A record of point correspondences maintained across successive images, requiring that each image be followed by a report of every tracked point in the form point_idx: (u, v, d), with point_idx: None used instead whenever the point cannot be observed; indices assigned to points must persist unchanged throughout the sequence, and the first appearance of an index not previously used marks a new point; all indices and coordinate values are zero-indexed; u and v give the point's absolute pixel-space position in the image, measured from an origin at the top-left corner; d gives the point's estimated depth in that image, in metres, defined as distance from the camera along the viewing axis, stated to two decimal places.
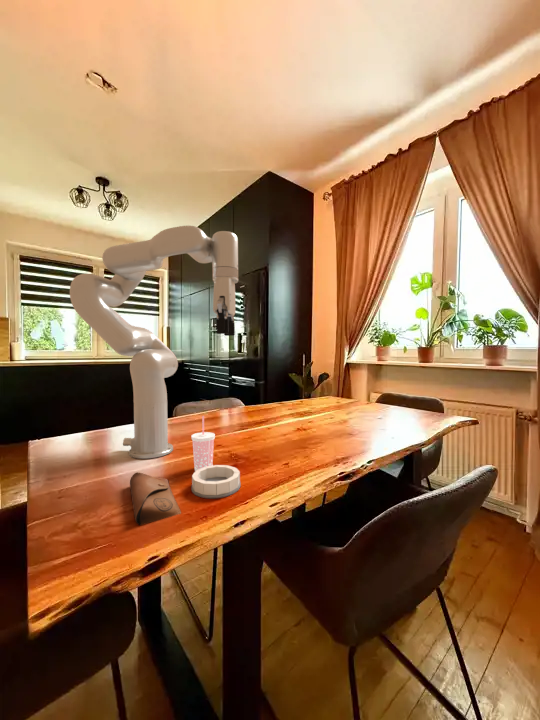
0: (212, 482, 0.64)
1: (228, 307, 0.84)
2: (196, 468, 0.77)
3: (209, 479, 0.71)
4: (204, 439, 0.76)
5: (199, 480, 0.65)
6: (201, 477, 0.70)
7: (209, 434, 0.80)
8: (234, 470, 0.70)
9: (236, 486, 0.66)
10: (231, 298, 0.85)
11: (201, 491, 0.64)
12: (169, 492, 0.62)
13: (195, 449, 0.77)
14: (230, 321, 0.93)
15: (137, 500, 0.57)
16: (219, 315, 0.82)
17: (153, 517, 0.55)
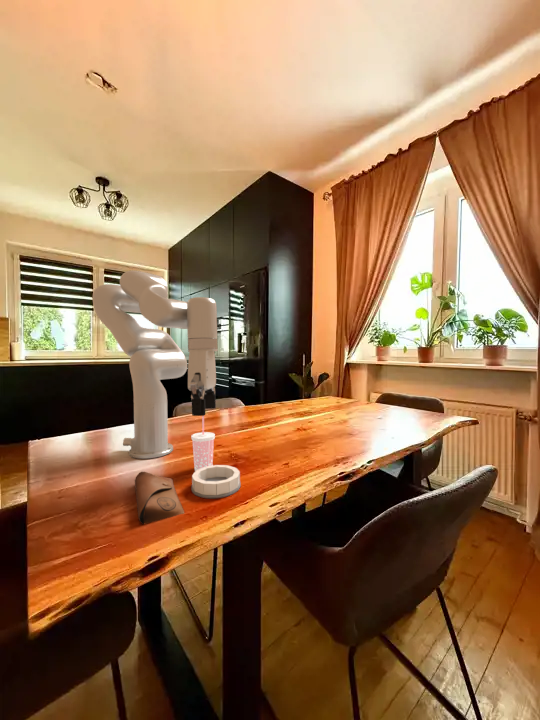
0: (212, 482, 0.64)
1: (205, 385, 0.73)
2: (196, 468, 0.77)
3: (209, 479, 0.71)
4: (204, 439, 0.76)
5: (199, 480, 0.65)
6: (201, 477, 0.70)
7: (209, 434, 0.80)
8: (234, 470, 0.70)
9: (236, 486, 0.66)
10: (208, 373, 0.75)
11: (201, 491, 0.64)
12: (173, 492, 0.63)
13: (195, 449, 0.77)
14: (210, 392, 0.83)
15: (141, 499, 0.57)
16: (194, 396, 0.71)
17: (156, 517, 0.55)
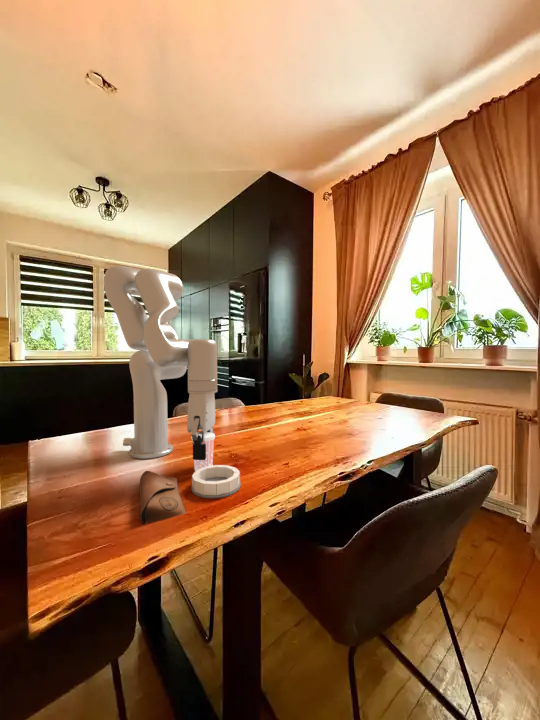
0: (212, 482, 0.64)
1: (204, 428, 0.74)
2: (196, 468, 0.77)
3: (209, 479, 0.71)
4: None
5: (199, 480, 0.65)
6: (201, 477, 0.70)
7: (209, 434, 0.80)
8: (234, 470, 0.70)
9: (236, 486, 0.66)
10: (208, 416, 0.75)
11: (201, 491, 0.64)
12: (176, 491, 0.63)
13: None
14: None
15: (143, 498, 0.57)
16: (195, 442, 0.74)
17: (158, 516, 0.55)
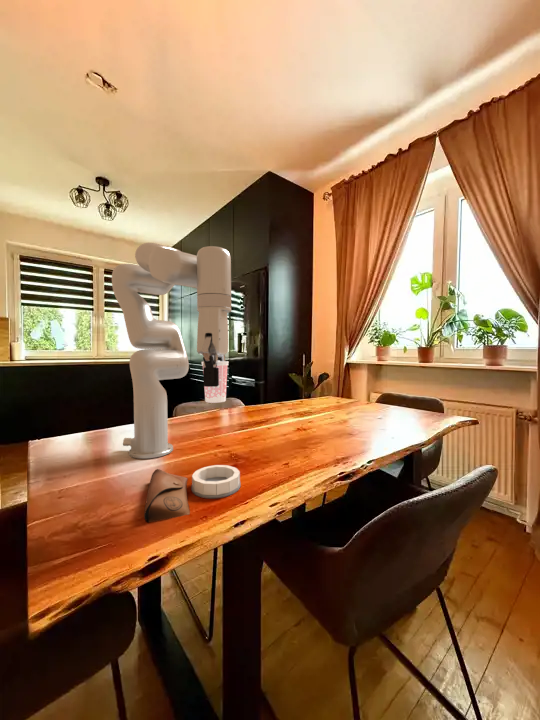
0: (212, 482, 0.64)
1: (217, 348, 0.63)
2: (207, 398, 0.66)
3: (209, 479, 0.71)
4: (217, 363, 0.65)
5: (199, 480, 0.65)
6: (201, 477, 0.70)
7: None
8: (234, 470, 0.70)
9: (236, 486, 0.66)
10: (221, 335, 0.65)
11: (201, 491, 0.64)
12: (182, 491, 0.63)
13: None
14: None
15: (149, 497, 0.58)
16: (206, 364, 0.63)
17: (161, 516, 0.55)
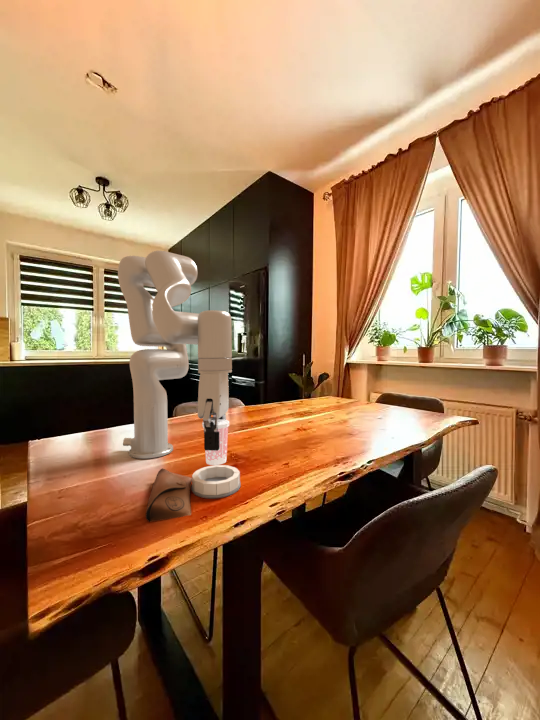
0: (212, 482, 0.64)
1: (217, 413, 0.63)
2: (208, 460, 0.67)
3: (209, 479, 0.71)
4: None
5: (199, 480, 0.65)
6: (201, 477, 0.70)
7: (222, 421, 0.69)
8: (234, 470, 0.70)
9: (236, 486, 0.66)
10: (222, 399, 0.65)
11: (201, 491, 0.64)
12: (185, 491, 0.63)
13: None
14: None
15: (151, 496, 0.58)
16: (207, 429, 0.63)
17: (163, 516, 0.55)
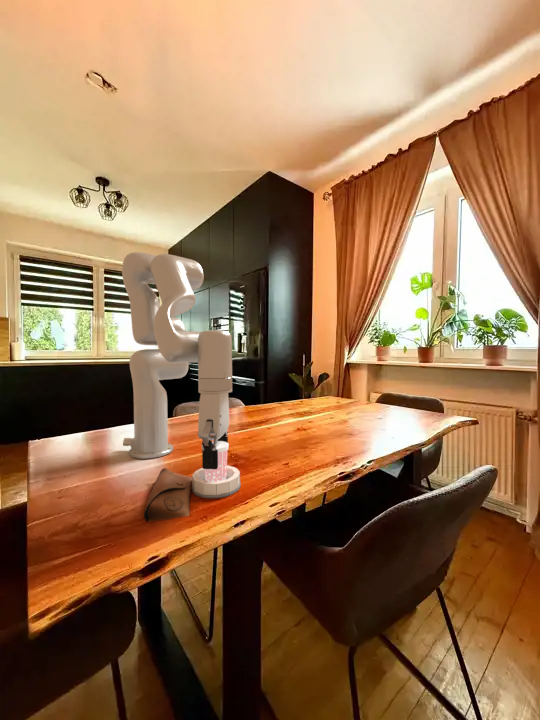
0: (212, 482, 0.64)
1: (218, 434, 0.63)
2: None
3: None
4: None
5: (199, 480, 0.65)
6: (201, 477, 0.70)
7: (222, 443, 0.69)
8: (234, 470, 0.70)
9: (236, 486, 0.66)
10: (222, 419, 0.65)
11: (201, 491, 0.64)
12: (185, 492, 0.62)
13: None
14: (222, 435, 0.73)
15: (150, 496, 0.58)
16: (205, 448, 0.62)
17: (161, 516, 0.55)
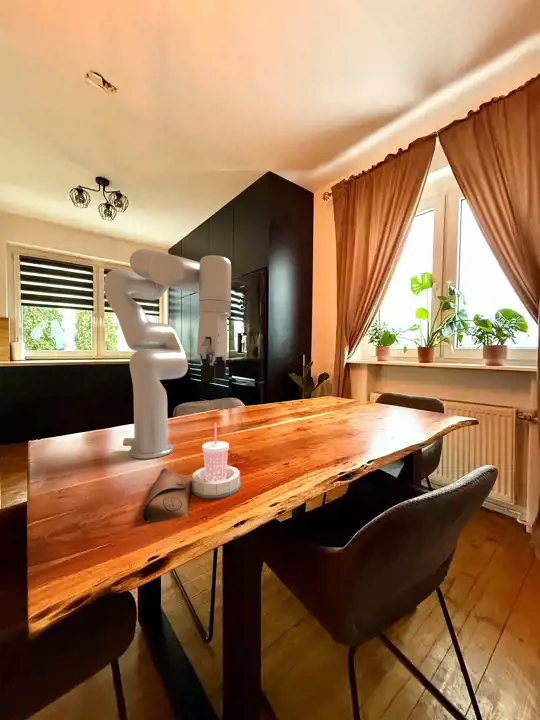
0: (212, 482, 0.64)
1: (215, 351, 0.68)
2: None
3: None
4: (217, 450, 0.66)
5: (199, 480, 0.65)
6: (201, 477, 0.70)
7: (222, 443, 0.70)
8: (234, 470, 0.70)
9: (236, 486, 0.66)
10: (220, 339, 0.69)
11: (201, 491, 0.64)
12: (185, 492, 0.62)
13: (207, 461, 0.66)
14: (221, 361, 0.78)
15: (149, 496, 0.58)
16: (203, 362, 0.66)
17: (159, 516, 0.55)
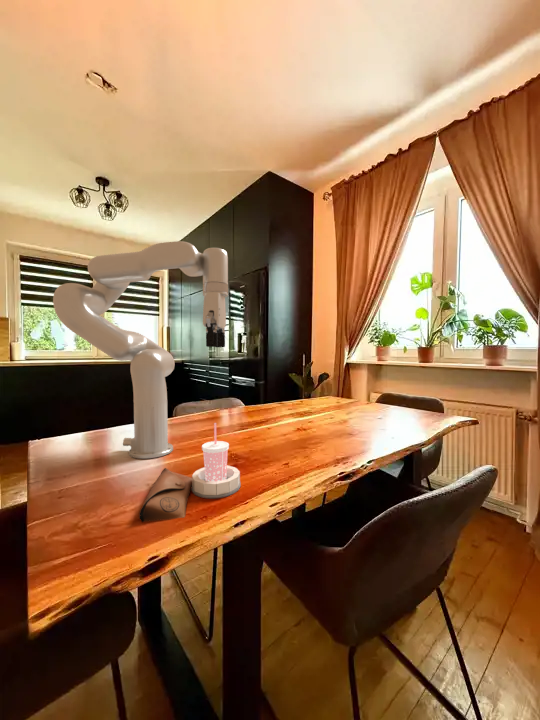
0: (212, 482, 0.64)
1: (217, 321, 0.87)
2: None
3: None
4: (217, 450, 0.66)
5: (199, 480, 0.65)
6: (201, 477, 0.70)
7: (222, 443, 0.70)
8: (234, 470, 0.70)
9: (236, 486, 0.66)
10: (220, 312, 0.88)
11: (201, 491, 0.64)
12: (183, 493, 0.62)
13: (207, 461, 0.66)
14: (221, 333, 0.97)
15: (147, 496, 0.58)
16: (208, 329, 0.85)
17: (156, 516, 0.55)
